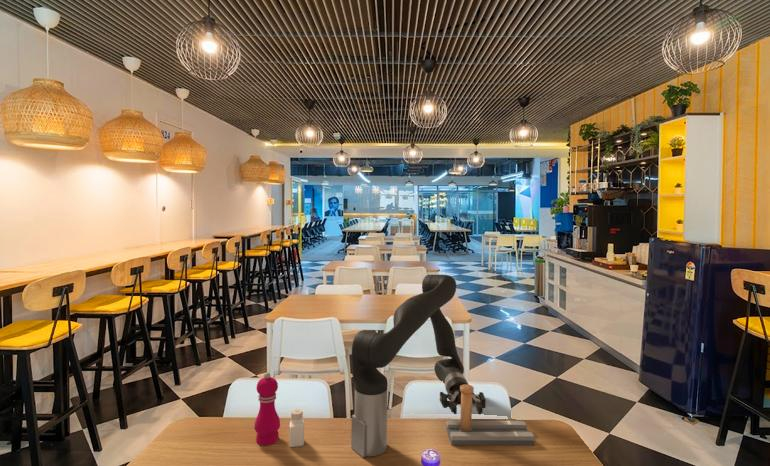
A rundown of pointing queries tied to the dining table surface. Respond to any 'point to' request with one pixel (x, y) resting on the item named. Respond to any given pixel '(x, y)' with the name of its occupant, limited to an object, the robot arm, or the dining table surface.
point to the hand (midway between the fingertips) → (467, 411)
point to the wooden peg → (466, 408)
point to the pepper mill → (267, 411)
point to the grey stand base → (491, 433)
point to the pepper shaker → (296, 428)
